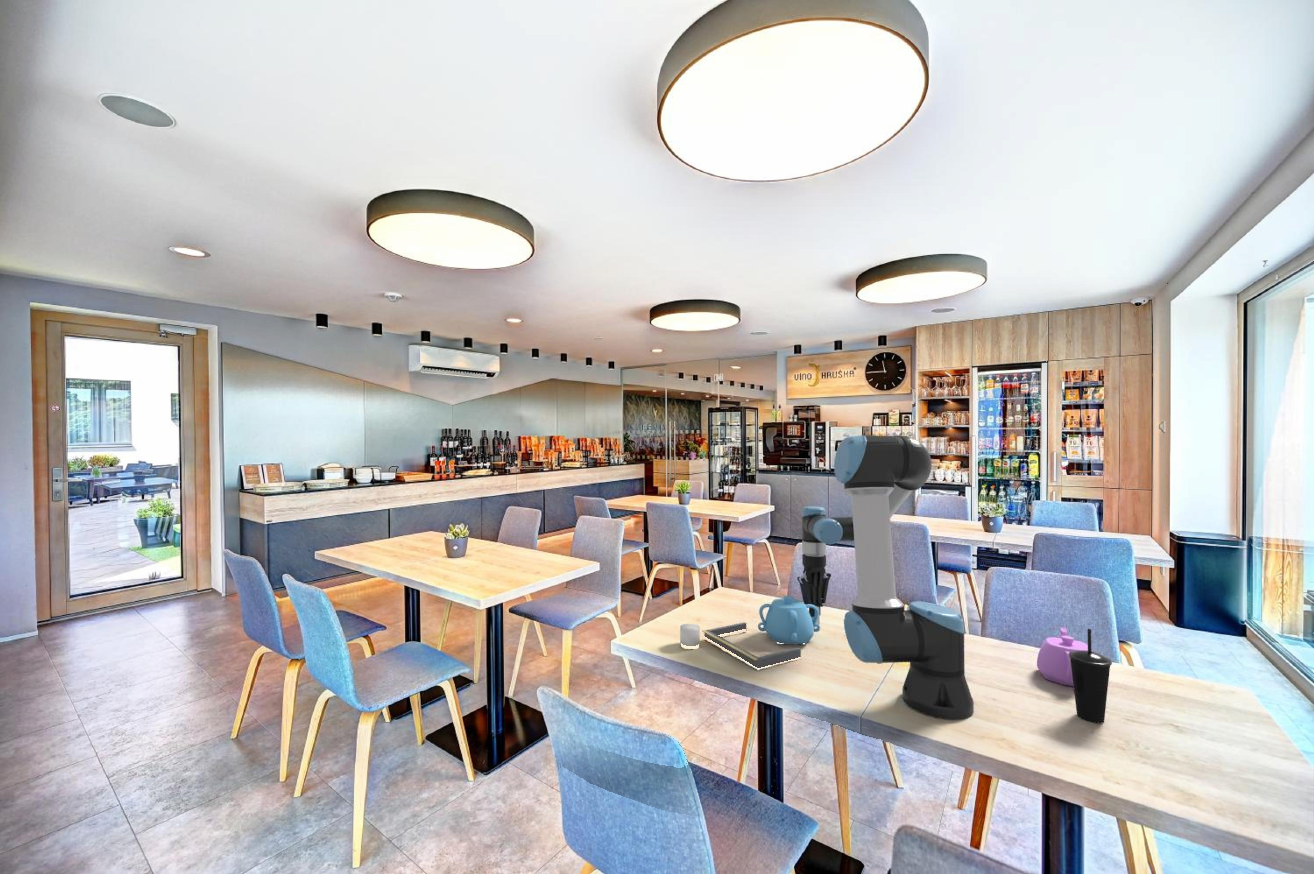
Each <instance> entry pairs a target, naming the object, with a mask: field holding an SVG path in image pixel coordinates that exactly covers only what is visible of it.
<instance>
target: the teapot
mask: <svg viewBox="0 0 1314 874" xmlns="http://www.w3.org/2000/svg"><path fill="white" fill-rule="evenodd" d="M1079 650H1087V651H1088V643H1085V642H1083V641H1079V640H1075V638H1074V637H1072V636H1068V630H1067V628H1066V627H1063V626H1062V627H1061V628H1060V635H1059V637H1055V636H1054V637H1047V638H1046V639H1045V640H1044V641H1043V643H1042V645H1041V646H1040V648H1039V651H1038V653H1037V658H1036V666H1037V669H1038V671H1039V672H1040V674H1041V675H1042V677H1043V678H1045V680H1048V681H1050V682H1054V683H1057V684H1060V685H1065V686H1069V687H1074V686H1073V677H1072V669H1071V660H1070V657H1069V652H1072V651H1079Z"/></svg>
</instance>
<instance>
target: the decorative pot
mask: <svg viewBox="0 0 1314 874" xmlns="http://www.w3.org/2000/svg"><path fill="white" fill-rule="evenodd" d="M767 608H768V610H767V613H766V614H765V615H766V616H765V617H764V612H763V611H764V610H765V609H767ZM809 608H813V609H815V616H814V619H813V621H812V618H811V616H810V613H809ZM758 613H759V616H760V617H759V618H760V619H761V622H759V623H758V625H757V629H758V630H759V631H761V632H765V633H766V634H767V635H768V637H769V639H771V640H772V641H774V642H779V643H785V644H790V645H791V644H792V645H795V644H796V645H799V644H803V643H806V644H808V643H809V642H810V641H811V640H812V638H813V636H814V634H815V633H817V632H820V630H821V626H820V625H819V624H818V623H816V621H817V619H818V615H819V611H818V609H817V607H816V606H814V605H812V604H807V605H805V604H804V602H803V600H800V599H797V598H795V597H794V596H792V595H785V596H783V597H781V598H776V599H773V600H772V601H771V603H764V604H762V605H761V606H760V607H759V610H758ZM761 626H763V627H761ZM815 626H818V627H817V628H816V627H815Z"/></svg>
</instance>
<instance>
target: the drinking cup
mask: <svg viewBox="0 0 1314 874" xmlns="http://www.w3.org/2000/svg"><path fill="white" fill-rule="evenodd" d="M1086 631H1087V645H1088V651H1087V650H1079V651H1072V652H1069V657H1070V660H1071V669H1072V677H1073V686H1072V687H1073V693H1074V700H1075V709H1076V716H1077V717H1078V718H1079V719H1081V720H1084V721H1085V722H1089V723H1092V724H1103V723H1104V722H1105V718H1106V717H1105V716H1106V707H1107V700H1108V699H1107V698H1108V690H1109V681H1110V680H1109V679H1110V671H1111V666H1112V665H1113V661H1112V660H1111V659H1110V658H1108V657H1106V656H1104V655H1103V654H1101V653H1098V652H1096V651H1093V649H1092V629H1091V628H1087V630H1086Z"/></svg>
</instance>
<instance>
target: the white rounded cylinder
mask: <svg viewBox="0 0 1314 874" xmlns="http://www.w3.org/2000/svg"><path fill="white" fill-rule="evenodd" d="M700 629H701V628H700V625H698V624H695V623H684V624H681V625H680V627H679V641H680V642H679V644H680V643H682V644H683V645H686V646H696V645H698V644H699V643H700V644H701V641H700V640H701V639H700V636H701V635H700V634H701V633H700V631H701V630H700Z"/></svg>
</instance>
